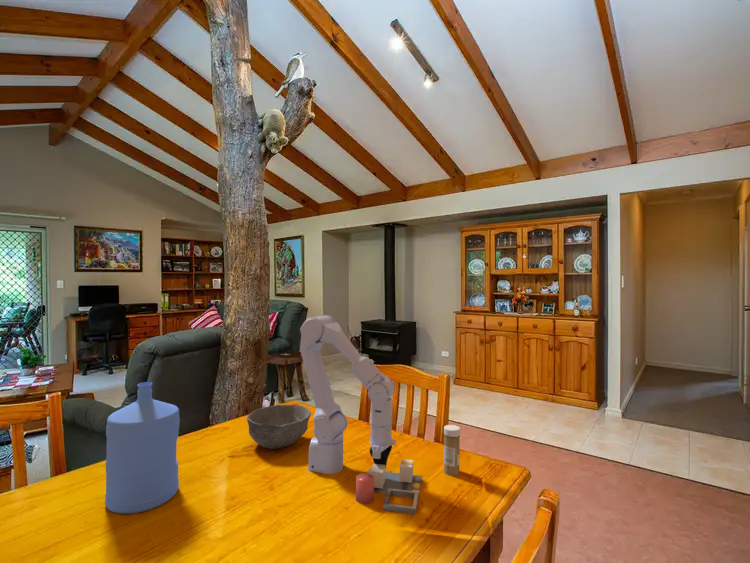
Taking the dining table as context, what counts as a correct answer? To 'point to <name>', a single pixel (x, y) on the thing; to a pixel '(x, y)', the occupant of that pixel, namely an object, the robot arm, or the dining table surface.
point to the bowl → (278, 425)
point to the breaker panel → (399, 483)
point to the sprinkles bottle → (451, 450)
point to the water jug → (141, 454)
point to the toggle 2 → (406, 470)
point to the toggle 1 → (378, 475)
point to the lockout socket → (400, 507)
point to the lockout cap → (364, 488)
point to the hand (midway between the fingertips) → (380, 473)
